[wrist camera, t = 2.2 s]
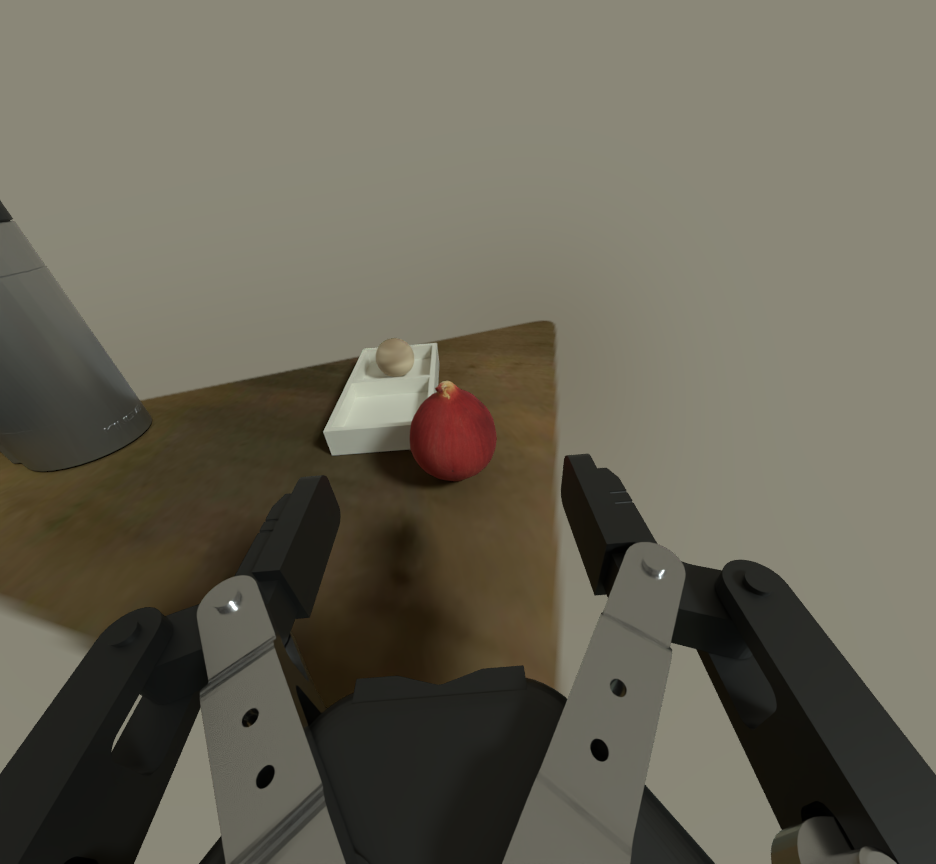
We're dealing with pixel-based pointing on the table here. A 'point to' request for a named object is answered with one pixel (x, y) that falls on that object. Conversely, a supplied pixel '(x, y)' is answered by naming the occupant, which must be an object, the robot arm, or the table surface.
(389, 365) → the beige wooden ball
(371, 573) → the table surface
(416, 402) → the white divided tray
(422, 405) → the onion
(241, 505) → the table surface
